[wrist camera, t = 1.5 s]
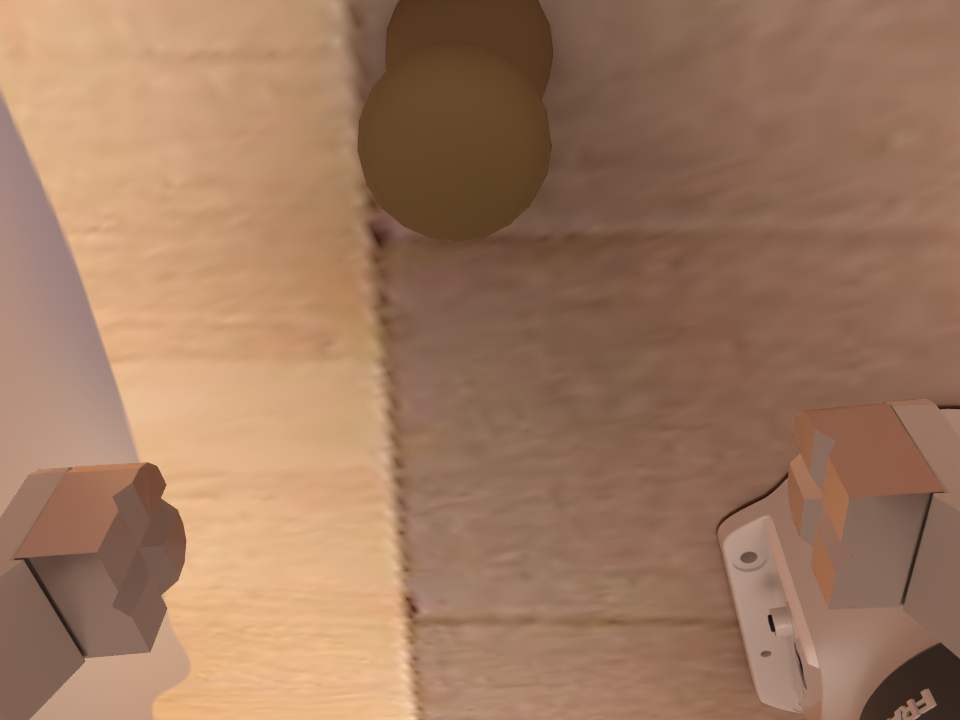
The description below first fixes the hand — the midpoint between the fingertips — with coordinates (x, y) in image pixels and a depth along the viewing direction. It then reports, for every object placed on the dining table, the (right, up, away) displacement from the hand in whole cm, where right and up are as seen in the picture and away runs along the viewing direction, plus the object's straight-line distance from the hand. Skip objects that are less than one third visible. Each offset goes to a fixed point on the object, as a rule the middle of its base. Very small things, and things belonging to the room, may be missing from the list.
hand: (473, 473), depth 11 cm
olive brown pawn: (0, +13, +20) cm, 24 cm away
